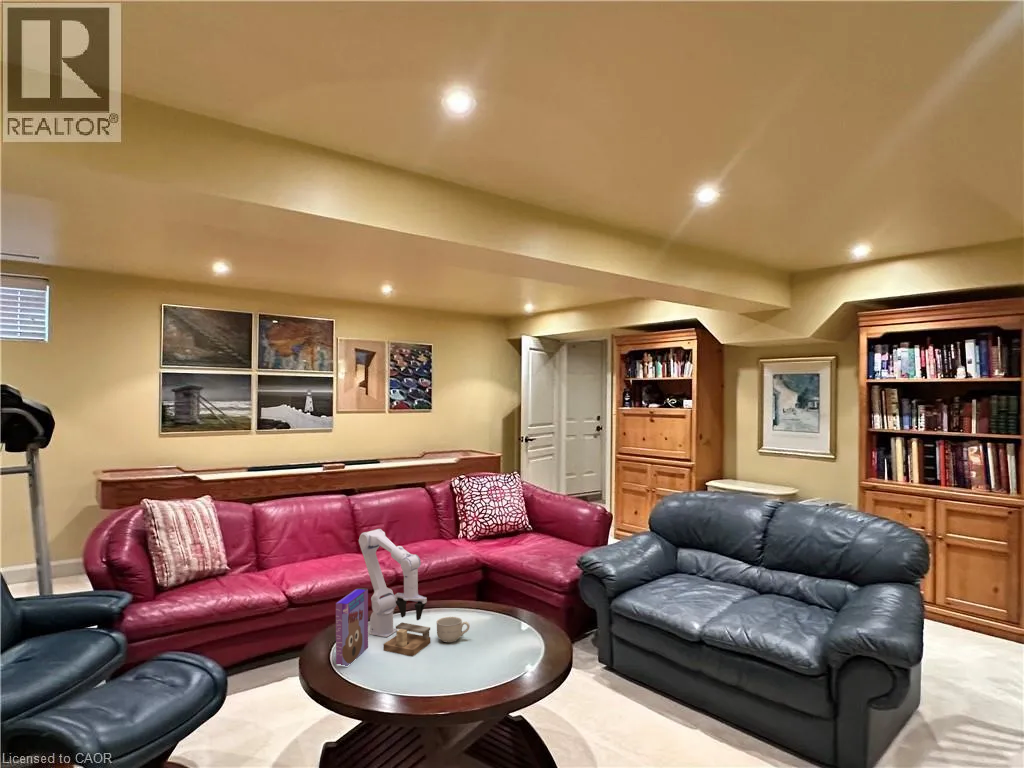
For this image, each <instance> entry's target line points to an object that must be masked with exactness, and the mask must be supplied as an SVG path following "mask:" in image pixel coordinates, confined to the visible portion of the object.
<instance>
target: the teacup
mask: <svg viewBox="0 0 1024 768" xmlns="http://www.w3.org/2000/svg"><path fill="white" fill-rule="evenodd" d="M464 625H465V626H466V629H465V630H463V627H464ZM469 630H470V623H469V621H463V619H462V618H460V617H457V616H447V617H446V616H445V617H442V618H439V619H437V620H436V634H437V637H438V638H439V640H440V641H442V642H445V643H453V642H457V641H458V640H459V638H461V637H462V636H464V634H466V633H467V632H468V631H469Z"/></svg>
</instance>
